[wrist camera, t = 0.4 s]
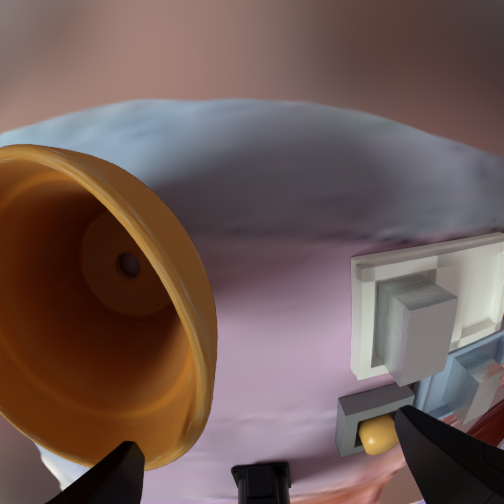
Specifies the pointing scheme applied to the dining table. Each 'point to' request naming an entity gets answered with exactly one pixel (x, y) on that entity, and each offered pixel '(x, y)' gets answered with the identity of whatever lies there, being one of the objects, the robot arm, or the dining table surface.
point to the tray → (432, 388)
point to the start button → (378, 434)
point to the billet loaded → (414, 327)
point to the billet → (472, 384)
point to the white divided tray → (440, 272)
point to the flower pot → (99, 311)
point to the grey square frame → (366, 413)
